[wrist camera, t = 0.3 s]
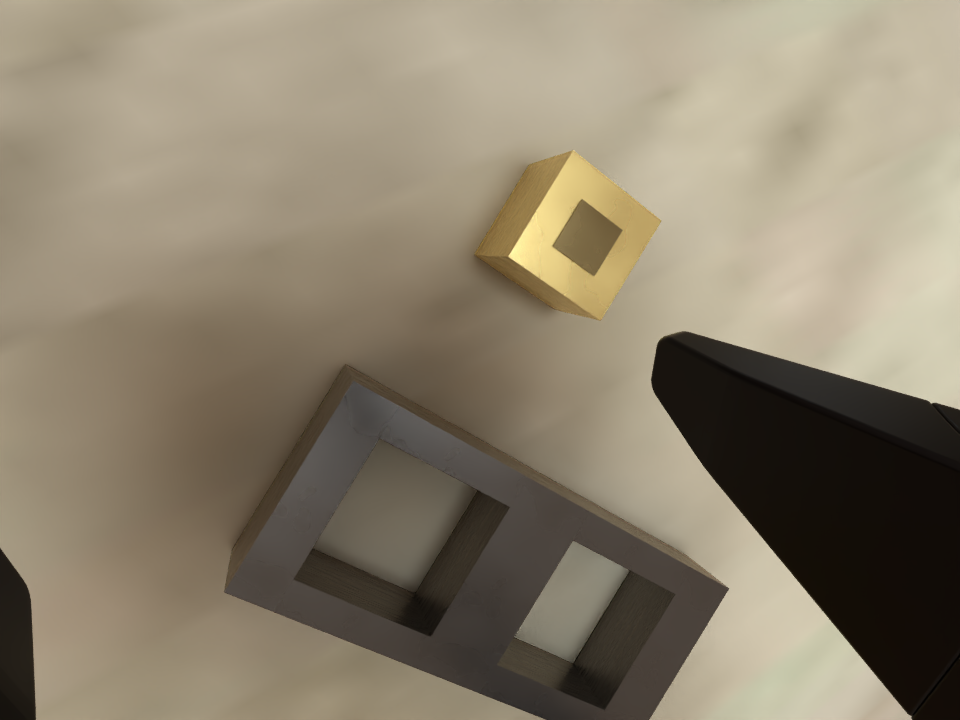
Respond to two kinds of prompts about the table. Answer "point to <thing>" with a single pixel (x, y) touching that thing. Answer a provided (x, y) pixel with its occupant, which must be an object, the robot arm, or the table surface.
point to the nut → (568, 235)
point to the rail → (471, 568)
